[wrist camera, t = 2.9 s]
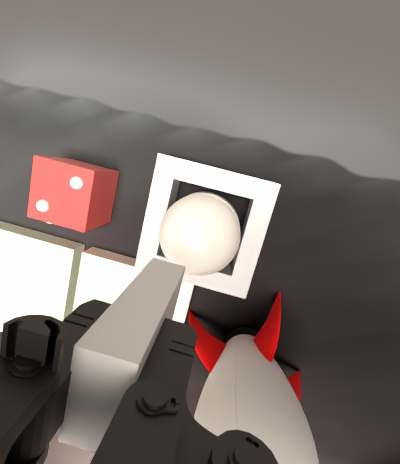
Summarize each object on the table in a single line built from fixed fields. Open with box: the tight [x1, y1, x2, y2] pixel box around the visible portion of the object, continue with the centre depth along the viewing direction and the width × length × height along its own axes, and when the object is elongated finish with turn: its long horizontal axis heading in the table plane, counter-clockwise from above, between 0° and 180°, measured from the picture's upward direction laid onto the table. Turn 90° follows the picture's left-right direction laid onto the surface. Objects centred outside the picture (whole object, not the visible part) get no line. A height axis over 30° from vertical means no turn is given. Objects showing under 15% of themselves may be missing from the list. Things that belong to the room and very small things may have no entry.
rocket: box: [188, 291, 319, 464], centre depth 23 cm, size 11×11×25 cm
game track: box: [0, 221, 194, 332], centre depth 35 cm, size 27×13×2 cm, turn 76°
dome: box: [159, 191, 241, 276], centre depth 26 cm, size 7×7×8 cm
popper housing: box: [134, 153, 281, 299], centre depth 30 cm, size 12×12×4 cm
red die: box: [27, 155, 120, 232], centre depth 30 cm, size 7×7×7 cm
